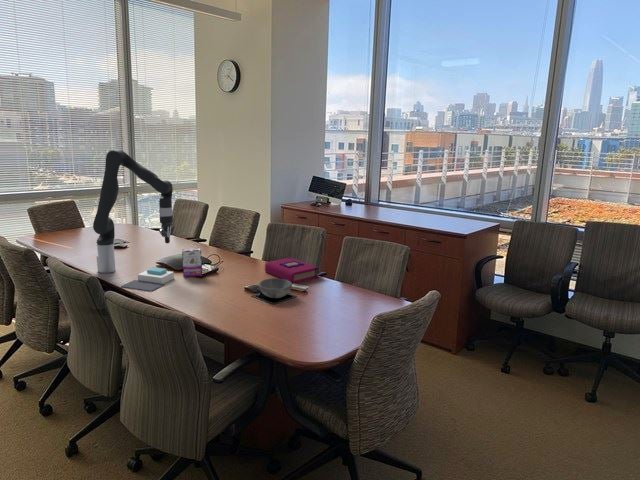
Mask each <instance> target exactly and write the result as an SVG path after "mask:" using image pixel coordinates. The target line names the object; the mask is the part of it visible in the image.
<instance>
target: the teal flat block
mask: <svg viewBox="0 0 640 480" xmlns="http://www.w3.org/2000/svg"><path fill="white" fill-rule="evenodd" d="M146 271H147V273H149V274H156V275H162V274H164V273H166V272H167V271H168V270H167V268H161V267H151V268H149V269H147V270H146Z"/></svg>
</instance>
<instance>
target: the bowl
mask: <svg viewBox="0 0 640 480" xmlns="http://www.w3.org/2000/svg"><path fill="white" fill-rule="evenodd" d="M292 286H293V283H291V282H290V281H288V280H284V279H281V278H278V277H277V278H267V279H266V278H265V279H263V280H261V281H259V283H258V288H259V290H260V292H261V293H262V295H264V296H265V297H268V298H271V299H281V298H283V297H285V296H286V295H288V294H289V293H290V291H291V289H292Z"/></svg>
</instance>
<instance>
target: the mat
mask: <svg viewBox="0 0 640 480" xmlns="http://www.w3.org/2000/svg"><path fill="white" fill-rule="evenodd" d="M165 284H166V283H164V284H161V283H154V282H146V281H139V280H138V279H134V280H132V281H131V280H130V281H129V282H127V283H125V284H123V285H120V287H121V288H122V289H123V288H124V289H131V290H137V289H138V290H137V291H143V290H147V291H146V292H150V291H152V292H154V291H155V289H156V290H158V289H160V288H162V287H164V286H165ZM161 286H162V287H161ZM159 287H160V288H159ZM157 288H158V289H157ZM153 290H154V291H153Z"/></svg>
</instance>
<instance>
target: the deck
mask: <svg viewBox="0 0 640 480" xmlns="http://www.w3.org/2000/svg"><path fill="white" fill-rule="evenodd" d="M174 279H175V272H174V271H170V270H169V271H168V270H167V272H166V273H164V274H162V275H156V274H149V273H147V270H145V271H142V272H140V273H138V274H137V280H139V281H146V282H154V283H161V284H166V283H168V282H170V281H172V280H174Z"/></svg>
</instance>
